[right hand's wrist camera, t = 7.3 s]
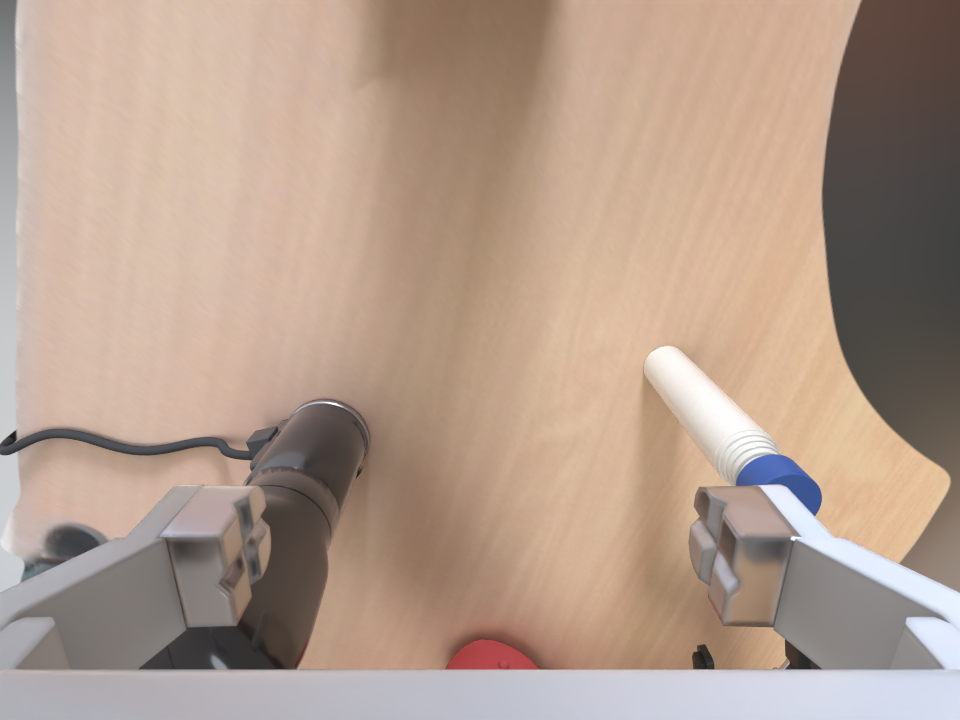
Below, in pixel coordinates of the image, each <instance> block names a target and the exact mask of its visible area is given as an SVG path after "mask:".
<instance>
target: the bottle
mask: <svg viewBox="0 0 960 720" xmlns="http://www.w3.org/2000/svg"><path fill="white" fill-rule="evenodd" d="M644 374H645V377H646V378H647V380H648V381H649V382H650V384H651V385H652V386H653V388H654V389H655V390H656V392H657V393H658V394H659V396H660V397H661V398H662V400H663V401H664V402H665V404H666V405H667V406H668V408H669V409H670V410H671V412H672V413H673V414H674V416H675V417H676V418H677V420H678V421H679V422H680V424H681V425H682V426H683V428H684V429H685V430H686V432H687V433H688V434H689V436H690V437H691V438H692V440H693V441H694V442H695V444H696V445H697V446H698V448H699V449H700V450H701V452H702V453H703V454H704V456H705V457H706V458H707V460H708V461H709V462H710V464H711V465H712V466H713V468H714V469H715V470H716V472H717V473H718V474H719V475H720V476H721V477H722V478H723V479H724V480H725V481H726V482H727V483H729V484H730V485H732V486H736V480H737V477H738V475H739V473H740V471H741V470H742V469H743V468H744V467H745V466H746V465H747V464H748V463H749V462H751V461H752V460H754V459H756V458H758V457H761V456H764V455H770V454H777V455H782V454H781V452H780V450H779V448H778V446H777V444H776V443H775V442H774V440H773V439H772V438H771V437H770V436H769V435H768V434H767V433H766V432H765V431H764V430H763V429H762V428H761V427H760V426H759V425H758V424H757V423H756V422H755V421H754V420H753V419H752V418H751V417H750V416H749V415H748V414H747V413H745V412H744V411H743V410H742V409H741V408H740V407H739V406H738V405H737V404H736V403H735V402H734V401H733V400H732V399H731V398H730V397H729V396H728V395H727V394H726V393H725V392H724V391H723V390H722V389H721V388H720V387H718V386H717V385H716V384H715V383H714V382H713V381H712V380H711V379H710V378H709V377H708V376H707V375H706V374H705V373H704V372H703V371H702V370H701V369H700V368H699V367H698V366H697V365H696V364H695V363H694V362H693V361H692V360H690V359H689V358H688V357H687V356H686V355H685V354H684V353H683V352H682V351H681V350H680V349H678V348H676V347H672V346H664V347H660V348H657V349H656V350H654V351H653V352H651V353H650V354H649V356H648V357H647V359H646V360H645V363H644Z"/></svg>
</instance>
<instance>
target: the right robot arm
mask: <svg viewBox="0 0 960 720" xmlns="http://www.w3.org/2000/svg"><path fill="white" fill-rule="evenodd" d="M265 508H266V502H265V496H264V491H263V490H262V489H261V488H260V487H259V486H233V485H206V486H205V485H179V486H174V487H173V488H172V489H171V490H170V491H169V492H168V493H167V494H166V495H165V496H164V497H163V498H162V499H161V501H160V502H159V503H158V504H157V505H156V506H155V507H154V508H153V509H152V510H151V511H150V512H149V513H148V514H147V515H146V516H145V518H144V519H143V520H142V521H141V522H140V523H139V524H138V525H137V526H136V527H135V528H134V529H133V530H132V531H131V532H130V533H129V535H128V536H127V537H126V538H115V539H113V540H111V541H109V542H107V543H105V544H103V545H100V546H98V547H96V548H94V549H92V550H90V551H88V552H86V553H83V554H81V555H79V556H77V557H75V558H73V559H71V560H69V561H66V562H64V563H62V564H60V565H58V566H56V567H54V568H52V569H50V570H47V571H45V572H43V573H41V574H39V575H37V576H35V577H33V578H30V579H28V580H26V581H24V582H22V583H20V584H18V585H16V586H13V587H11V588H9V589H7V590H5V591H3V592H1V593H0V720H960V593H959V592H957V591H955V590H953V589H951V588H948V587H946V586H944V585H942V584H940V583H938V582H936V581H934V580H931V579H929V578H927V577H925V576H923V575H921V574H919V573H917V572H915V571H912V570H910V569H908V568H906V567H904V566H902V565H900V564H898V563H895V562H893V561H891V560H889V559H887V558H885V557H883V556H881V555H879V554H876V553H874V552H872V551H870V550H868V549H866V548H864V547H862V546H860V545H857V544H855V543H853V542H851V541H849V540H847V539H845V538H834V537H833V536H832V535H831V533H830V532H829V531H828V530H827V529H826V528H825V527H824V526H823V525H822V524H821V523H820V522H819V521H818V520H817V519H816V517H815V516H814V515H813V514H812V513H811V512H810V511H809V510H808V509H807V508H806V507H805V506H804V505H803V504H802V503H801V502H800V500H799V499H798V498H797V497H796V496H795V495H794V494H793V493H792V492H791V491H790V490H789V489H788V488H787V487H785V486H783V485H780V484H778V485H753V486H718V487H699V488H698V490H697V493H696V495H695V501H694V508H695V509H696V511H697V513H698V514H699V516H700V517H699V518H698V519H697V520H696V521H695V522H694V523H693V524H692V525H691V526H690V535H689V551H690V558H691V562H692V565H693V568H694V570H695V572H696V574H697V576H698V578H699V579H700V580H702V581H703V582H705V583H706V584H708V585H709V586H710V588H709V594H708V598H709V599H710V601H711V603H712V605H713V607H714V609H715V611H716V613H717V615H718V616H719V618H720V620H721V622H722V624H723V626H747V627H774V630H775V631H776V632H777V633H778V634H780V635H781V636H782V637H783V638H785V639H786V640H787V641H788V642H789V643H791V644H792V645H793V646H794V647H796V648H797V649H798V650H799V651H801V652H802V653H803V654H804V655H805V656H807V657H808V658H809V659H810V660H812V661H813V662H814V663H815V664H817V665H818V666H819V667H820V668H821V669H823V670H175V669H139V668H140V667H141V666H142V665H144V664H145V663H146V662H147V661H149V660H150V659H151V658H152V657H153V656H155V655H156V654H157V653H158V652H160V651H161V650H162V649H163V648H165V647H166V646H167V645H168V644H170V643H171V642H172V641H173V640H174V639H176V638H177V637H178V636H179V635H181V634H182V633H183V632H184V631H186V627H212V626H237V624H238V622H239V620H240V618H241V617H242V615H243V613H244V611H245V609H246V607H247V605H248V603H249V601H250V599H251V598H252V594H251V588H250V586H251V585H252V584H254V583H255V582H257V581H258V580H260V579H261V578H262V576H263V574H264V572H265V570H266V568H267V566H268V561H269V557H270V552H271V534H270V526H269V525H268V524H267V523H266V522H265V521H264V520H263V519H262V518H261V517H260V516H261V514H262V513H263V511H264V509H265Z"/></svg>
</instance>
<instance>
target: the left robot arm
mask: <svg viewBox="0 0 960 720" xmlns="http://www.w3.org/2000/svg"><path fill="white" fill-rule="evenodd" d="M16 431H17V429H16V430H15V431H14V432H13V433H11V434H10V435H9V436H8V437H6V438H5V439H4V440H3V441H2V442H1V444H0V454H1V455H10V454H13V453H15V452H17V451H19V450H21V449H23V448H25V447H27V446H29V445H31V444H34V443H36V442H39V441H42V440H45V439H50V438H67V439H74V440H79V441H83V442H87V443H90V444H93V445H96V446H99V447H103V448H106V449H109V450H113V451H116V452H121V453H126V454H132V455H158V454H165V453H170V452H175V451H179V450H184V449H188V448H193V447H200V446H213V447H217V448H218V449H219V450H220V452H221V453H222V454H223V455H225V456H227V457H230V458H234V459H241V460H252V462H251V463H250V469H251V471H252V472H251V474H250V475H249V476H248V478H247V479H246V481H245V482H244V484H243V485H242V486H259V487H260V488H261V489H262V490H263V491H264V496H265V502H266V508H265V509H264V511H263V513H262V514H261V516H260V517H261V518H262V519H263V520H264V521H265V522H266V523H267V524H268V525H269V526H270V534H271V552H270V557H269V561H268V566H267V568H266V570H265V572H264V574H263V576H262V578H261V579H260V580H258V581H257V582H255V583H254V584H252V585H251V586H250V588H251V594H252V598H251V599H250V601H249V603H248V605H247V607H246V609H245V611H244V613H243V615H242V617H241V618H240V620H239V622H238V624H237V626H212V627H186V631H184V632H183V633H182V634H181V635H179V636H178V637H177V638H176V639H174V640H173V641H172V642H171V643H170V644H168V645H167V646H166V647H165V648H163V649H162V650H161V651H160V652H158V653H157V654H156V655H155V656H153V657H152V658H151V659H150V660H149V661H147V662H146V663H145V664H144V665H142V666H141V667H140V668H139V669H175V670H297V669H298V667H299V665H300V663H301V661H302V659H303V657H304V655H305V652H306V649H307V647H308V644H309V641H310V638H311V635H312V632H313V628H314V625H315V621H316V618H317V614H318V611H319V607H320V604H321V600H322V597H323V594H324V590H325V586H326V583H327V577H328V555H327V551H328V549H329V546H330V543H331V541H332V538H333V535H334V533H335V530H336V528H337V525H338V522H339V520H340V517H341V515H342V512H343V509H344V507H345V504H346V502H347V499H348V497H349V494H350V492H351V489H352V486H353V484H354V481H355V479H356V478H357V477H358V475H359V474H360V473H361V471H362V468H363V467H362V468H361V469H360V466H361V463H362V461H363V459H364V458H365V455H366V453H367V450H368V447H369V432H368V428H367V426H366V424H365V422H364V420H363V419H362V417H361V416H360V415H359V414H358V413H357V412H356V411H355V410H354V409H352V408H351V407H349V406H348V405H346V404H344V403H341V402H338V401H335V400H329V399H319V400H314V401H310V402H307V403H305V404H303V405H302V406H300V407H299V408H298V409H297V410H296V411H295V412H294V413H293V414H292V415H291V417H290V418H289V419H287V420H283V421H282V422H281V423H280V424H279V426H278V427H272V428H267V429H263V430H258V431H255V432H254V434H253V435H252V436H251V437H250V439H249V440H248V441H247V442H246V443H247V446H248V448H249V451H240V450H235V449H232V448H230V447H229V446H228V445H227V444H226V442H225V441H224V440H222V439H217V438H206V437H205V438H195V439H189V440H184V441H180V442H175V443H171V444H166V445H160V446H150V447H139V446H130V445H125V444H120V443H116V442H113V441H110V440H107V439H103V438H100V437H97V436H94V435H91V434H87V433H83V432H79V431H74V430H65V429H52V430H45V431H41V432H38V433H35V434H32V435H30V436H28V437H25V438H23V439H21V440H19V441H17V432H16ZM16 441H17V442H16ZM363 466H364V465H363ZM359 469H360V470H359ZM358 471H359V472H358ZM697 650H698V652H694V653H693V656H692V660H693V669H694V670H714V662H713V659H712V657H711V655H710V653H709V651H708V649H707V647H706V645H705V644H703V645H698V646H697ZM785 654H786V657H787V659H786V661H785V662H784V663H783V664H782V666H781V667H780V668H776V667H775V668H773V669H772V670H823V669H821V668H820V667H819V666H818V665H817V664H815V663H814V662H813V661H812V660H810V659H809V658H808V657H807V656H805V655H804V654H803V653H802V652H801V651H799V650H798V649H797V648H796V647H794V646H793V645H792V644H791V643H789V642H788V641H787V640H786V639H785Z"/></svg>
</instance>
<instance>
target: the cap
mask: <svg viewBox="0 0 960 720" xmlns="http://www.w3.org/2000/svg"><path fill="white" fill-rule="evenodd" d="M778 484H780V485H783V486H785V487H787V488H788V489H789V490H790V491H791V492H792V493H793V494H794V495H795V496H796V497H797V498H798V499H799V500H800V502H801V503H802V504H803V505H804V506H805V507H806V508H807V509H808V510H809V511H810V512H811V513H812V514H813V515H814V516H815V515H816V514H817V512H818V510H819V508H820V506H821V501H822V495H821V491H820V488H819V486H818V485H817V483H816V482H815V481H814V480H813V479H811V478H810V477H809V476H808V475H807V474H806V473H805V472H804V471H803V470H802V469H801V468H800V467H799V466H798V465H797V464H796V463H795V462H794V461H793V460H791V459H790V458H788V457H786V456H783V455H777V454H770V455H764V456H761V457H758V458H756V459H754V460H752V461H751V462H749V463H748V464H747V465H746V466H745V467H744V468H743V469H742V470H741V471H740V473H739V475H738V477H737V480H736V486H753V485H778Z"/></svg>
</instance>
